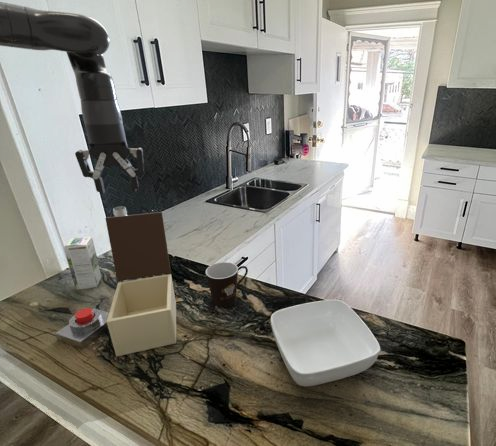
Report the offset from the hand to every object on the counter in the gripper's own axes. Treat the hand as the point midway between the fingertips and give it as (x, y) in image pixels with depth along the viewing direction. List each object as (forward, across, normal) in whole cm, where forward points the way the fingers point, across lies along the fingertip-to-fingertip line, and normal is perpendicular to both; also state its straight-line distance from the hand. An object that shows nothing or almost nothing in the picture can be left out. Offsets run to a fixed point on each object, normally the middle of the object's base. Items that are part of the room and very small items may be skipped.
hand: (119, 191), depth 77 cm
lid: (+13, +3, -5) cm, 14 cm away
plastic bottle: (+32, -5, +22) cm, 39 cm away
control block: (+32, -11, -10) cm, 35 cm away
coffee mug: (+32, +24, -9) cm, 41 cm away
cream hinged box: (+32, +3, -14) cm, 35 cm away
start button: (+28, -11, -10) cm, 32 cm away
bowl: (+32, +40, -36) cm, 63 cm away
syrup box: (+32, -16, +13) cm, 38 cm away
